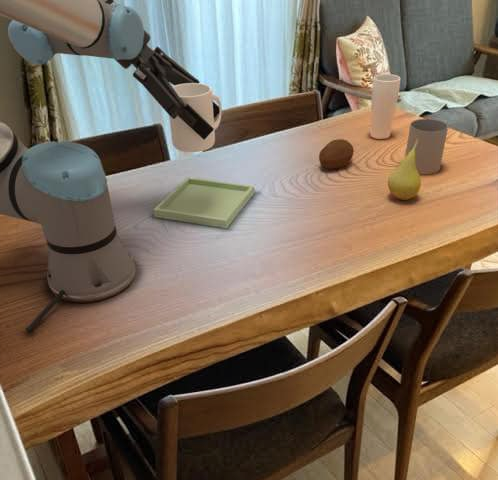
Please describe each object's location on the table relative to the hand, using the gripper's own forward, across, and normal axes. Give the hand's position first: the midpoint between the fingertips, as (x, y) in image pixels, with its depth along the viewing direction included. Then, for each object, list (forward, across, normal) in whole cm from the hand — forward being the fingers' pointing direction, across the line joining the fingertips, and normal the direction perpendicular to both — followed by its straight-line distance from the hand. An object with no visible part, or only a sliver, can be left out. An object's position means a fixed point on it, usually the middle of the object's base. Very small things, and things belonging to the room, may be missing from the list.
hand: (213, 124), depth 107 cm
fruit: (+41, -5, +16) cm, 44 cm away
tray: (+10, 0, -14) cm, 18 cm away
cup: (+45, -21, +20) cm, 54 cm away
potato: (+31, -21, +6) cm, 38 cm away
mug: (+1, 0, -5) cm, 5 cm away
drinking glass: (+39, -41, +14) cm, 58 cm away
